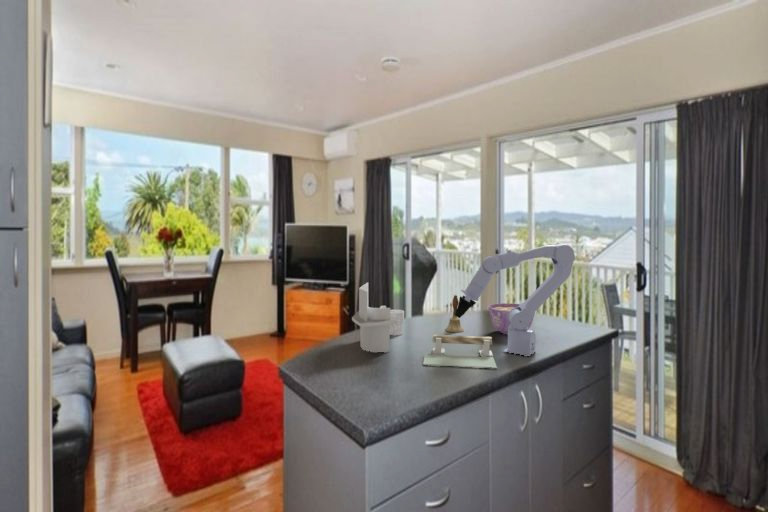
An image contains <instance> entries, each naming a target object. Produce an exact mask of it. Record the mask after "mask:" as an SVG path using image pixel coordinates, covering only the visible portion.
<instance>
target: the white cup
mask: <svg viewBox="0 0 768 512" xmlns="http://www.w3.org/2000/svg"><path fill="white" fill-rule="evenodd" d="M390 316H392V317H394V318H395V319H397V320H398V324H391V325H390V336H395V337H396V336H401V335H403V333H404V323H405V322H404V321H405V311H404V310H403V309H390Z"/></svg>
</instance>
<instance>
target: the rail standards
mask: <svg viewBox="0 0 768 512" xmlns="http://www.w3.org/2000/svg"><path fill="white" fill-rule="evenodd" d="M442 346H443V343H441V338H436V343H435V347H433V348H432V353H431V355H446V353H445V352H446V349H445V348H443V347H442ZM481 347H482V349H481V350H480V349H479V350H478V354H479V353H480V354H479V357H480V356H490V357H493V358H494V354H493V352H492V350H490V347H491V345H490V340H484V345H482V346H481Z"/></svg>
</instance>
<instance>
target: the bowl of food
mask: <svg viewBox="0 0 768 512" xmlns="http://www.w3.org/2000/svg"><path fill="white" fill-rule="evenodd" d="M520 304H521V303H509V302H508V303H505V302H504V303H501V302H500V303H492V304H490V305H488V307H487V308H488V312H489V316H490V321H491V324H492V326H493V327H494V329H495V330H497V331H498V332H500V333H501V334H502V333H503V335H505V334H506V336H508V326H509V325H510V323H511V322H510V321H509V320H508V313H509V312H510V310H512V309H514V308H517V307H518V306H519V305H520ZM535 314H536V312H535V313H534V316H533V318H532V319H531V320H530V322H529V325H528V329H529V330H530V328H531V327H532V324H533V321H534V317H535Z"/></svg>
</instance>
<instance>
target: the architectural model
mask: <svg viewBox="0 0 768 512" xmlns="http://www.w3.org/2000/svg"><path fill="white" fill-rule="evenodd" d="M390 310H391V307H387V306H386V305H380V307H370V306H369V282H365V284H363V285H361V286H360V287H359V288H358V311H356V312H355V314H353V315H352V317H351V321H352V322H353V323H355V324H356V325H358V326H359V328H360V330H359V331H360V335H359V337H360V339H359V341H360V347H361V348H362V349H361V348H360V349H361V350H362V351H365V350H366V351H365V352H369V351H370V352H369V353H377V352H384V353H390V352H391V351H390V350H391V349H390V345H391V344H390V343H391V342H390V340H391V339H390V338H391V337H390V336H391V335H390V325H391V324H398V320H397V319H395V318H394V317H392V316H390Z"/></svg>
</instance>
